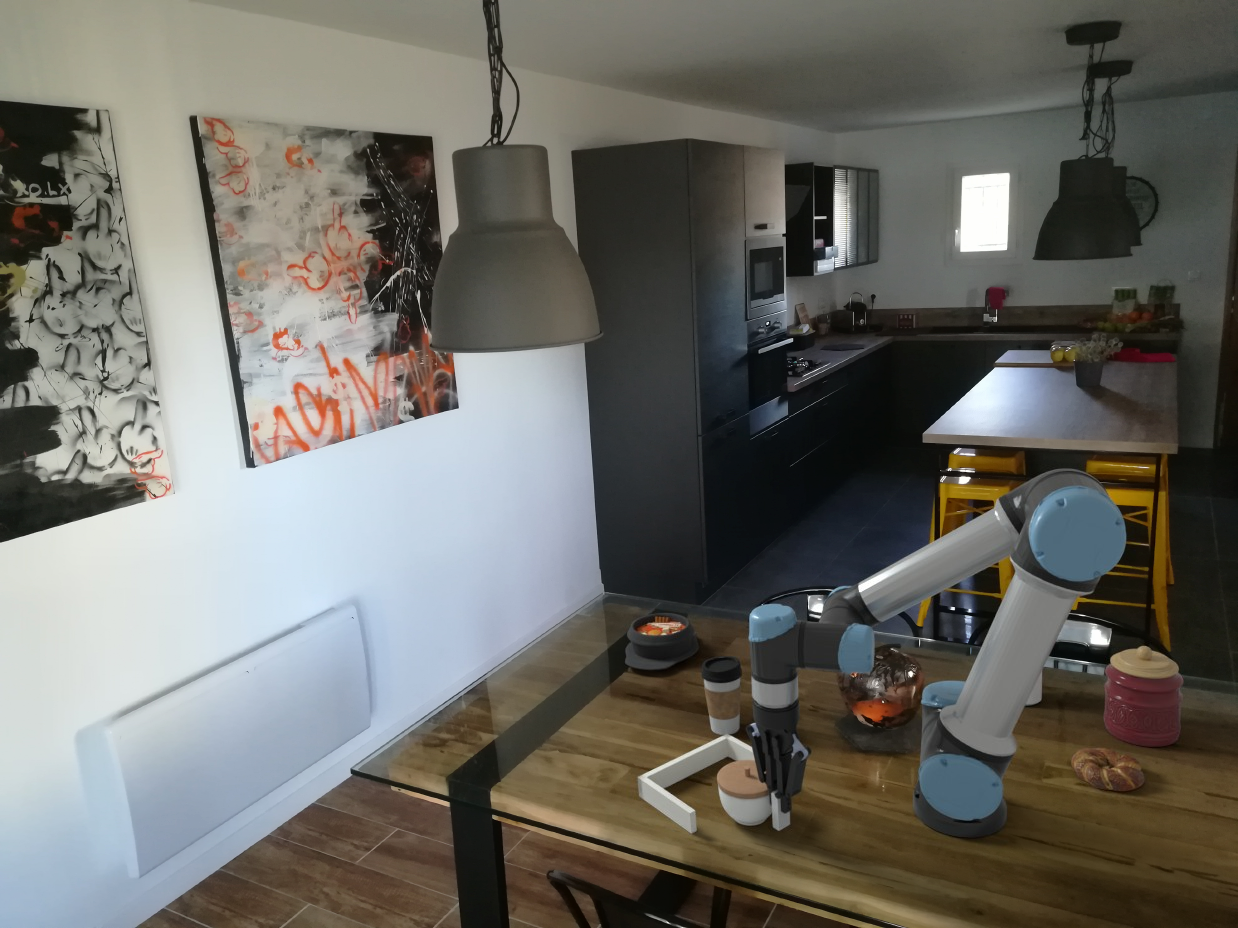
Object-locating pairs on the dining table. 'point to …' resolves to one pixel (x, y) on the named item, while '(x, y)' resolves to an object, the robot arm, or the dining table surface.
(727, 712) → the coffee cup
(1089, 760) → the pretzel
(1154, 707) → the canister
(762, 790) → the lidded jar
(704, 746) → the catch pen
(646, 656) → the casserole
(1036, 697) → the can
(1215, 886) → the dining table surface
